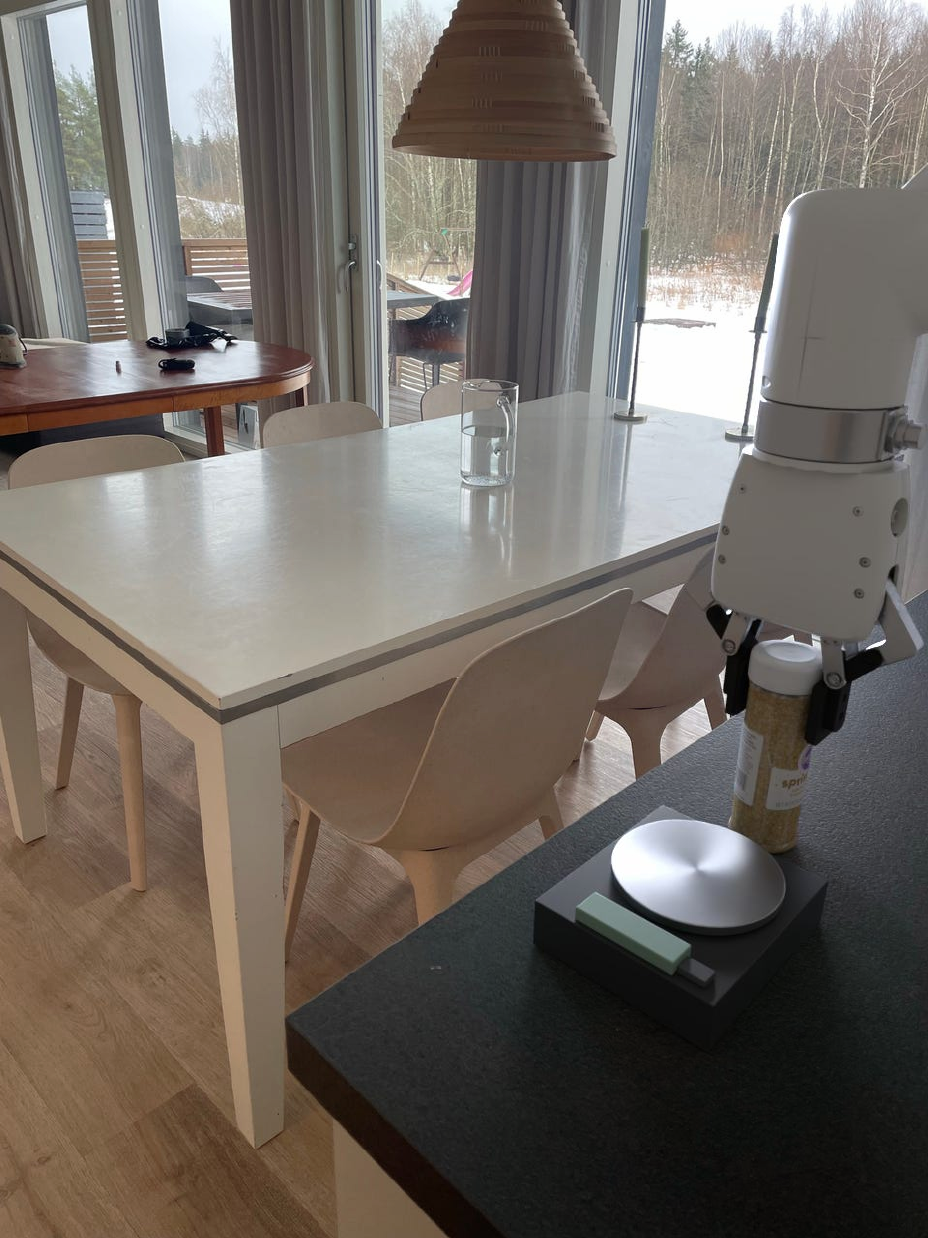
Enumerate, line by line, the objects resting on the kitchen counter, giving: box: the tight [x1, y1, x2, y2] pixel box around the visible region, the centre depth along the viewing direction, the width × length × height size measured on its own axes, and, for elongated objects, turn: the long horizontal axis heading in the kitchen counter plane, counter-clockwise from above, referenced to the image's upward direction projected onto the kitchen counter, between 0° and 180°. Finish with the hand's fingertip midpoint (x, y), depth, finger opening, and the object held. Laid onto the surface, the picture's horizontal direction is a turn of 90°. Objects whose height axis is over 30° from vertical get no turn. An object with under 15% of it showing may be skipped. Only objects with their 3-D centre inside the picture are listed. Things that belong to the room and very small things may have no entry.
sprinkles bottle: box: [727, 639, 823, 854], centre depth 59 cm, size 5×5×13 cm
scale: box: [532, 804, 829, 1053], centre depth 52 cm, size 13×11×4 cm
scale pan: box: [611, 820, 786, 936], centre depth 53 cm, size 10×10×1 cm
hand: (779, 719), depth 59 cm, fingers closed on sprinkles bottle, 4 cm apart
